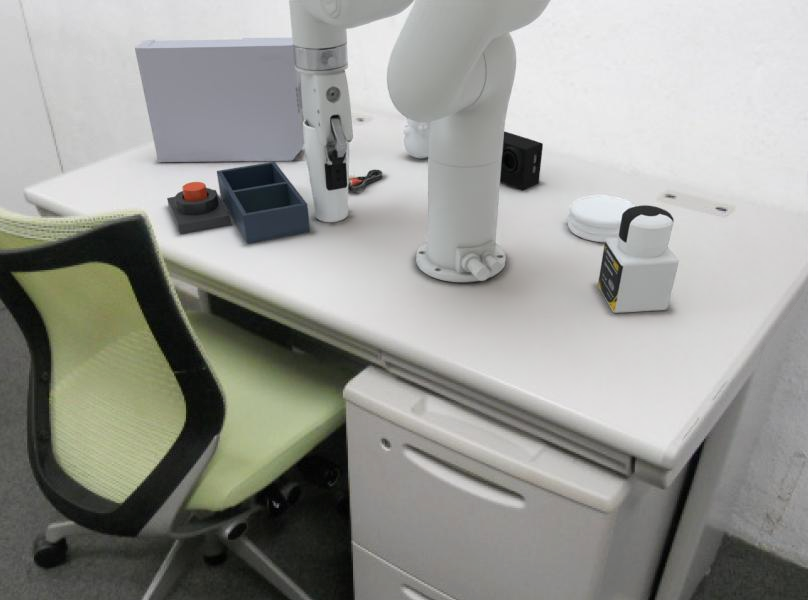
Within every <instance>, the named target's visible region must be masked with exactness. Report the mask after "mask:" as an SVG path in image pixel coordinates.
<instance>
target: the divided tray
mask: <svg viewBox="0 0 808 600" xmlns="http://www.w3.org/2000/svg"><path fill="white" fill-rule="evenodd" d="M216 176H217V177H216V178H217V183H218V189H219V194H220V196H219V197H220V199H221V201H222V203H223V205H224V206H225V208H226V210H227V212H228V214H229V215H230V217H231V219H232V220H233V221H234V224H235V226H236V227H237V229H238V230H239V232H240V234H241V236H242V238H243V240H244V242H245V243H246V245H252V244H255V243H261V242H266V241H267V242H268V241H271V240H276V239H282V238H287V237H293V236H298V235H303V234H308V233H311V227H310V226H311V225H310V217H309V205H308V202H307V201H306V200H305V198H304V197H303V196H302V195H301V194H300V192H299V191H298V190H297V189H296V187H295V186H294V184H293V183H292V182H291V181H290V179H289V178H288V177H287V176H286V174H285V173H284V172H283V170H282V169H281V168H280V166H279V165H278V164H277V163H276V161H268V162H263V163H257V164H251V165H243V166H239V167H233V168H226V169H221V170H220V169H219V170H216Z"/></svg>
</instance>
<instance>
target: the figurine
mask: <svg viewBox="0 0 808 600" xmlns="http://www.w3.org/2000/svg"><path fill="white" fill-rule="evenodd" d="M405 119H406V121H407V122H406V123H407V124H406V125H405V126H404V127H403V131H402V132H403V134H404V136H403V145H404V148H405V150H406V153H408V154H409V155H410V156H411V157H412V158H415V159H425V158H428V153H429V134H430V128H431V122H417V121H413V120H410V119H408V118H406V117H405Z"/></svg>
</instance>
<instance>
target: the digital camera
mask: <svg viewBox="0 0 808 600" xmlns="http://www.w3.org/2000/svg"><path fill="white" fill-rule="evenodd" d="M543 147H544V143H543V142H540V141H537V140H534V139H531V138H527V137H524V136H521V135H517V134H515V133H511V132H508V131H505V130H504V139H503V152H502V161H501V175H500V183H501V184H505V185H507V186H511V187H513V188H516V189H519V190H521V191H524V190H527V189H528V188H531V187H533V186H536V185H538V184H540V176H541V166H542V157H543V149H544V148H543Z"/></svg>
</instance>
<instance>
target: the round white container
mask: <svg viewBox="0 0 808 600" xmlns="http://www.w3.org/2000/svg"><path fill="white" fill-rule="evenodd" d="M635 206H636V205H635V203H633V202H632V201H630V200H628V199H625V198H623V197H619V196H614V195H610V194H589V195H584V196H581V197H579V198H577V199H575V200H574V201H573V202H572V203H571V205H570V206H569V214H568V221H567V226H568V229H569V231H570V232H572V233H573V234H574V235H575V236H577V237H579V238H581V239H584V240H587V241H592V242H597V243H605V240H606V239H607V238H618V235H619V230H620V224H621V219H622V214H623V213H624V212H625V211H626V210H627V209H629V208H631V207H635Z"/></svg>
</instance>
